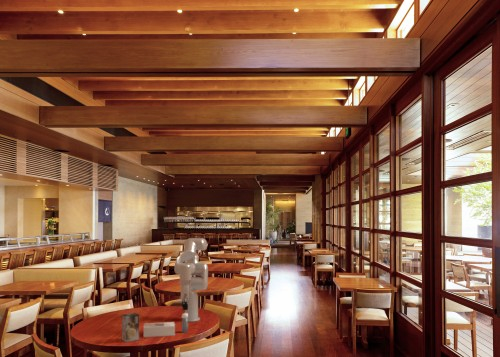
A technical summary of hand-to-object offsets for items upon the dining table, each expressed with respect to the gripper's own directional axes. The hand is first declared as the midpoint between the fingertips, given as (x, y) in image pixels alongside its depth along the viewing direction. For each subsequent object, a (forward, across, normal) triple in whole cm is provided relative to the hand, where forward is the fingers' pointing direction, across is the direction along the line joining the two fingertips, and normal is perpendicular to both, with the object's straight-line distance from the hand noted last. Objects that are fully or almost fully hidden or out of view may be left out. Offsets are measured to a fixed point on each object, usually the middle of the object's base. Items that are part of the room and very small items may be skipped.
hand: (184, 308), depth 322 cm
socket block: (+16, +1, -17) cm, 23 cm away
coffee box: (+16, +12, -35) cm, 40 cm away
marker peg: (+16, -1, 0) cm, 16 cm away
